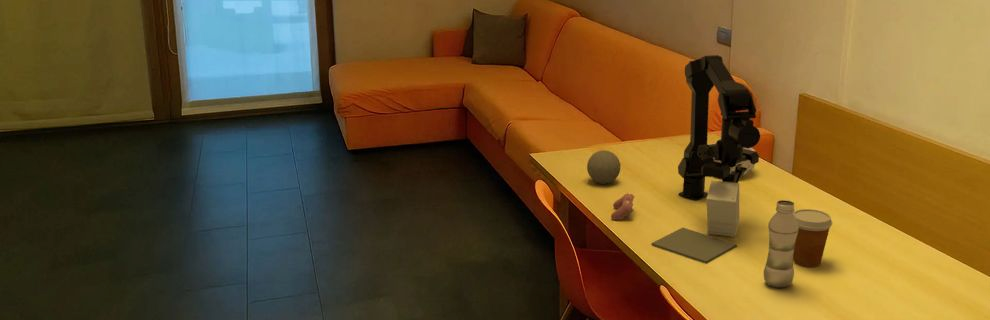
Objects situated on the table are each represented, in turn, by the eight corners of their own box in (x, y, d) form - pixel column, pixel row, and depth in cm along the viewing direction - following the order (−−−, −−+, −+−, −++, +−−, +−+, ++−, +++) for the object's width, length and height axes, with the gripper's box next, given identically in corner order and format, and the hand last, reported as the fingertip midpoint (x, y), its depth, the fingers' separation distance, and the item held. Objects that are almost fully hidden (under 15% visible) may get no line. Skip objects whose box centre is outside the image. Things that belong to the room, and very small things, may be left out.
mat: (682, 229, 237) (682, 227, 237) (736, 246, 227) (736, 244, 226) (651, 245, 228) (651, 243, 228) (706, 263, 217) (706, 261, 217)
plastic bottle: (758, 279, 209) (765, 198, 203) (786, 277, 210) (794, 197, 203) (768, 291, 203) (776, 208, 197) (797, 290, 203) (806, 207, 197)
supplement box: (739, 218, 237) (740, 182, 229) (735, 238, 232) (736, 202, 224) (711, 214, 239) (711, 179, 231) (706, 234, 234) (706, 198, 226)
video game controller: (624, 226, 244) (636, 206, 241) (609, 219, 244) (621, 198, 241) (626, 213, 253) (638, 193, 250) (611, 205, 253) (623, 185, 251)
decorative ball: (580, 184, 271) (581, 152, 268) (596, 175, 279) (597, 144, 276) (610, 190, 266) (611, 158, 263) (625, 180, 274) (626, 149, 271)
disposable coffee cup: (807, 273, 212) (812, 226, 208) (777, 258, 220) (782, 212, 216) (836, 265, 216) (841, 218, 212) (806, 250, 224) (811, 205, 220)
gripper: (723, 123, 241) (720, 179, 246) (685, 138, 228) (682, 196, 233) (761, 131, 234) (757, 188, 238) (723, 147, 221) (720, 206, 226)
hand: (728, 194), depth 234 cm, fingers closed
